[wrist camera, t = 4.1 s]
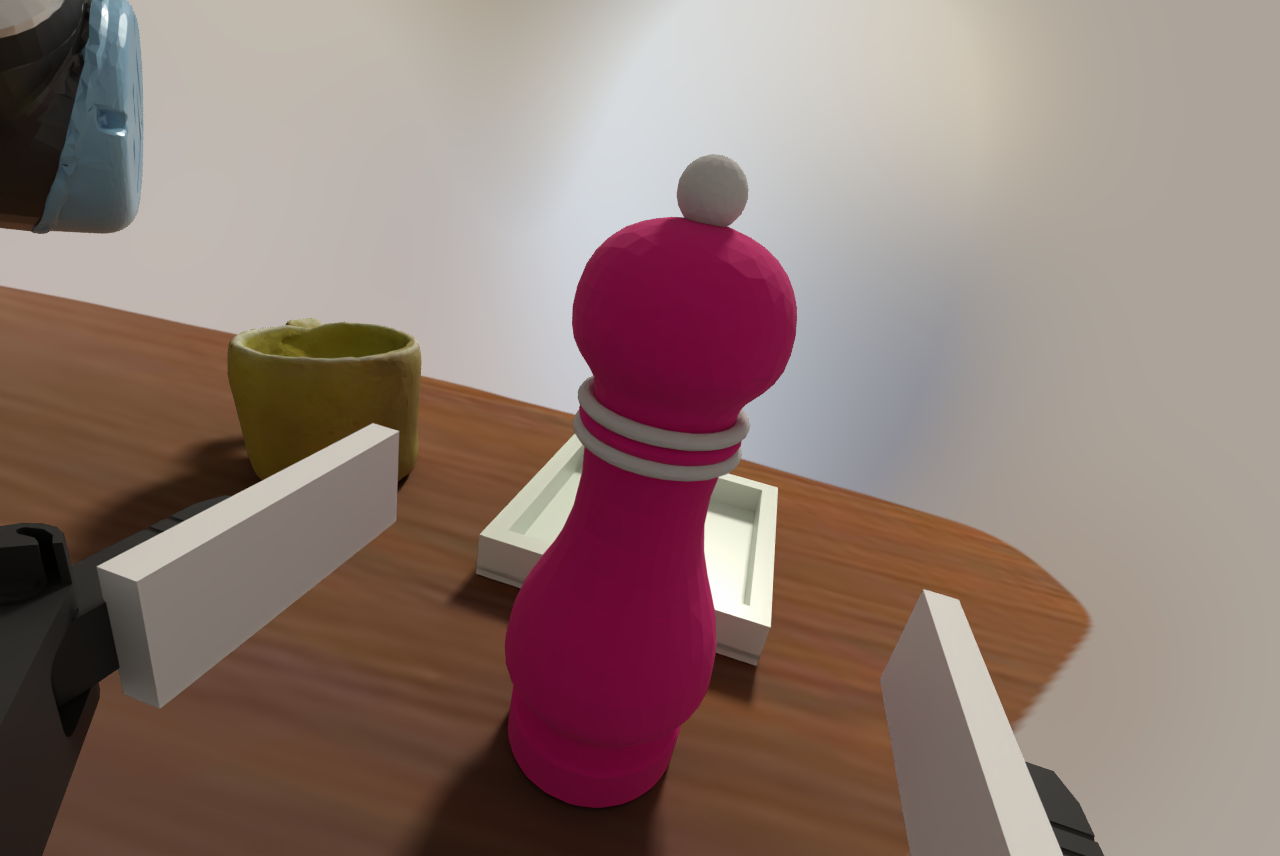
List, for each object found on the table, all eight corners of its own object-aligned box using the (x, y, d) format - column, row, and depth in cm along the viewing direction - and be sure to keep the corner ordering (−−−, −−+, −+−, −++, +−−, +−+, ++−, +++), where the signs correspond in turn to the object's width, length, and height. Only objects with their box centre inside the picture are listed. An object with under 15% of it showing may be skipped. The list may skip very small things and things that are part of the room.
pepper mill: (634, 872, 18) (851, 168, 10) (449, 751, 20) (510, 105, 12) (710, 708, 24) (882, 193, 16) (562, 630, 27) (649, 147, 19)
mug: (469, 478, 33) (412, 302, 29) (268, 551, 29) (173, 360, 26) (435, 424, 44) (390, 289, 40) (283, 473, 40) (218, 329, 36)
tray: (475, 573, 29) (479, 534, 28) (572, 460, 42) (577, 431, 41) (756, 666, 27) (770, 627, 26) (768, 517, 40) (777, 487, 39)
